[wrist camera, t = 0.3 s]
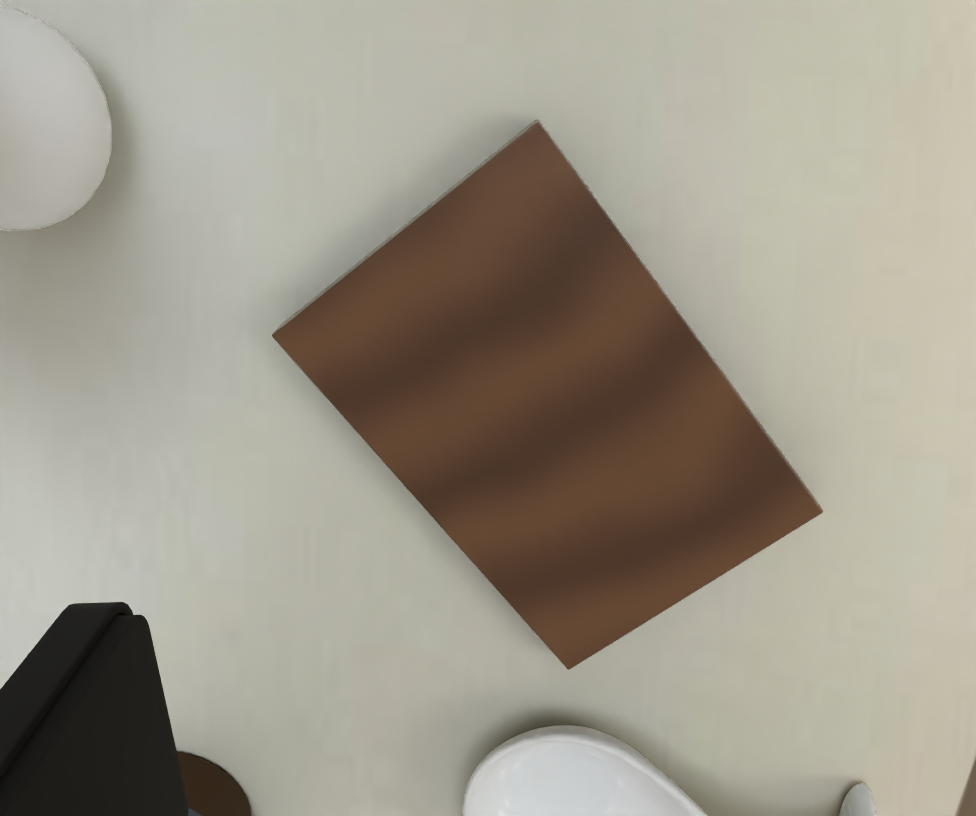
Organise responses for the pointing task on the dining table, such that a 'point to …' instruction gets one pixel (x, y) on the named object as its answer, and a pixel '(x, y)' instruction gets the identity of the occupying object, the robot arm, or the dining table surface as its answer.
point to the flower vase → (47, 125)
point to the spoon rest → (587, 780)
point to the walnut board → (548, 402)
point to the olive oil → (211, 789)
